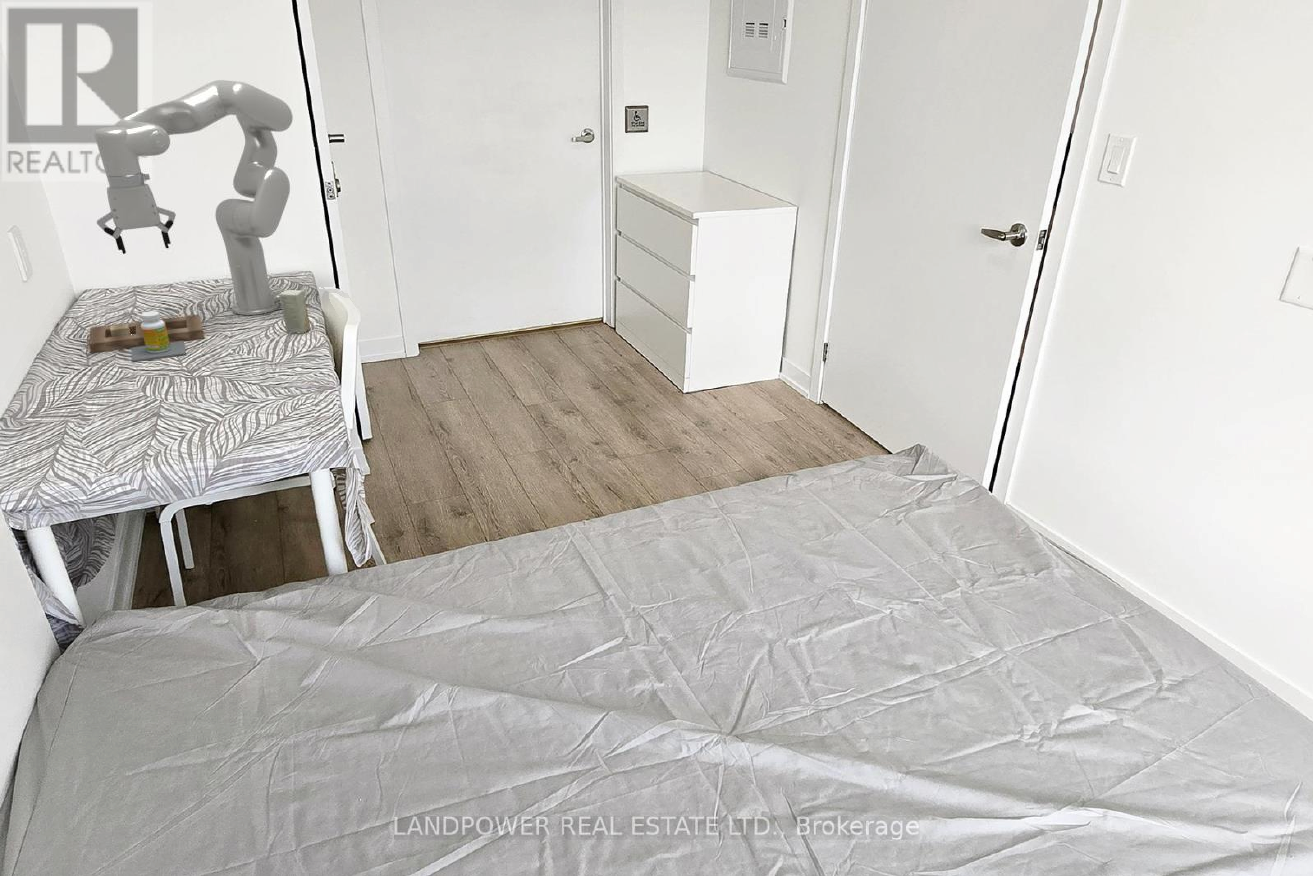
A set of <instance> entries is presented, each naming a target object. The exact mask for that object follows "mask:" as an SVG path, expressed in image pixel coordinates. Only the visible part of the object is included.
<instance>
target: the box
mask: <svg viewBox="0 0 1313 876" xmlns="http://www.w3.org/2000/svg"><path fill="white" fill-rule="evenodd" d="M280 293H281V294H279V296H280V304H281V310H282V314H283V319H284V324H285V330H286V333H287V332H300V333H299V334H303V333H304V332H305V333H306V331H307V330H308V331H309V330H311V329H310V328H311V323H310V319H309V314H308V309H307V303H306V297H305V292H304V290H297V289H296V290H295V289H294V290H293V289H286V290H284V291H282V292H280ZM308 331H307V332H308ZM305 333H304V334H305Z"/></svg>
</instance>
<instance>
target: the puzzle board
mask: <svg viewBox="0 0 1313 876" xmlns="http://www.w3.org/2000/svg"><path fill="white" fill-rule="evenodd" d="M160 320H163V321H164V322H165V326H166V330H167V334H168V338H169V342H178V341H184V342H190V341H196V340H205V339H206V336H205V333H204V329H203V324H202V321H201V316H200V314H192V315H184V316H183V315H182V316H175V317H169V318H168V317H167V318H160ZM142 322H144V321H143V320H141V321H135V322H134V321H133V322H126V323H125V322H124V323H123V324H128V325H129V329H130V333H131V334H132V335H124V336H116V337H112V334H111V331H110V327H111V325H112V324H109V325H108V324H107V325H100V326H92V327H90V328H89V338H88V347H89V350H90V351H89V352H90V354H97V353H106V352H114V351H120V350H119V349H121V350H126V349H125V348H129V349H132V347H139V346H146V345H145V341H144V337H143V333H142V329H141V323H142ZM120 324H121V323H118V324H114V325H120Z"/></svg>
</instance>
